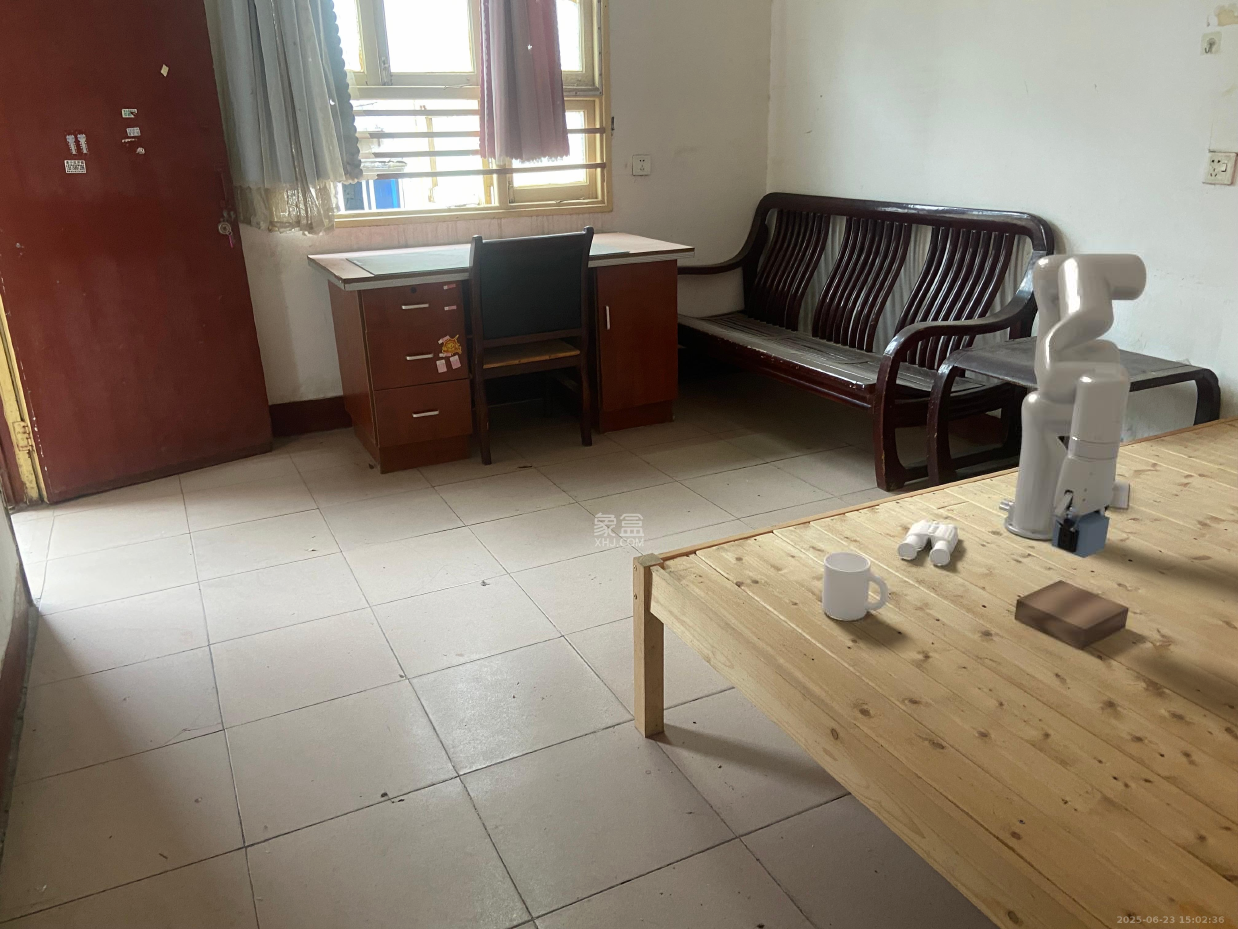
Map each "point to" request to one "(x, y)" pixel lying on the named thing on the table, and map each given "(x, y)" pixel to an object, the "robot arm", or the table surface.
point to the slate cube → (1087, 534)
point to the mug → (849, 586)
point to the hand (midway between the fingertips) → (1078, 544)
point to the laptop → (1120, 495)
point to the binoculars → (940, 538)
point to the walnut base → (1071, 614)
